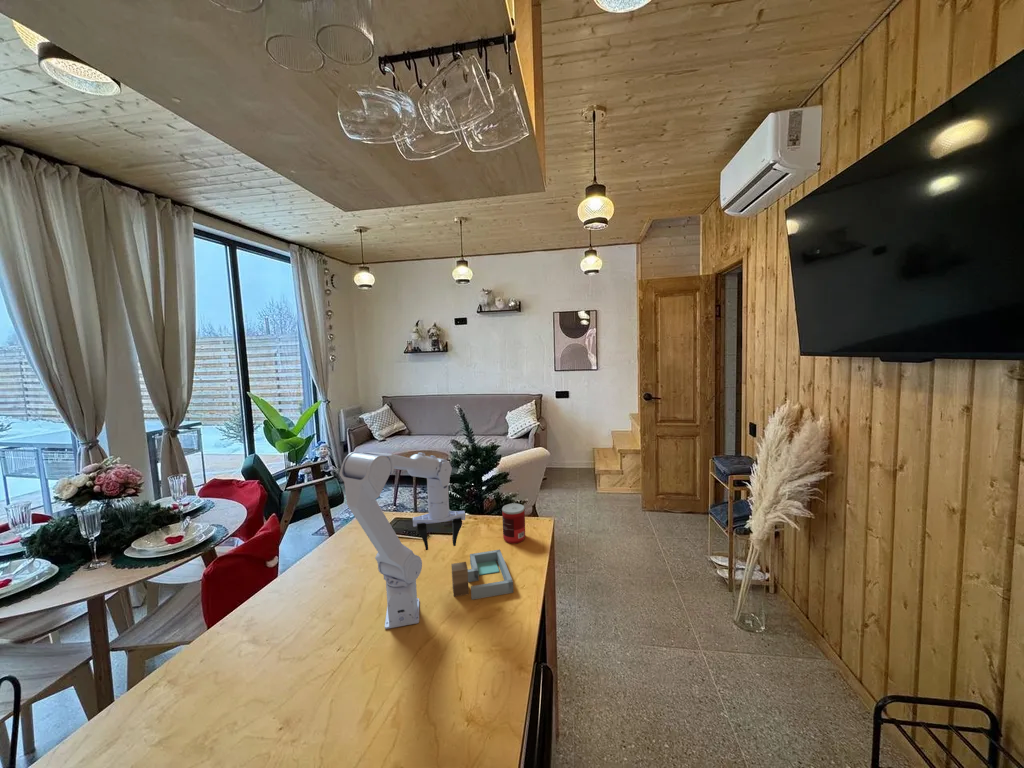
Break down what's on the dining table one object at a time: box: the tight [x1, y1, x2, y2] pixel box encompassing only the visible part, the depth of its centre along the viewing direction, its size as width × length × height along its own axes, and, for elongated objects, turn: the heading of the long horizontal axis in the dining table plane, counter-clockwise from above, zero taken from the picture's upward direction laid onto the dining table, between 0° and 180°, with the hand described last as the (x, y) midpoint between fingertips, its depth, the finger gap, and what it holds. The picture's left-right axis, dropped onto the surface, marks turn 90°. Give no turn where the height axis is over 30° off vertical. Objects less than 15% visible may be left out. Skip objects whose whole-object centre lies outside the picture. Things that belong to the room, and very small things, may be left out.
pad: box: [477, 561, 500, 576], centre depth 120 cm, size 6×6×1 cm
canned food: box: [501, 502, 526, 544], centre depth 138 cm, size 8×8×11 cm
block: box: [451, 561, 470, 597], centre depth 109 cm, size 4×4×7 cm
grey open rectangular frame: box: [468, 549, 514, 601], centre depth 115 cm, size 18×11×3 cm, turn 13°
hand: (440, 546), depth 114 cm, fingers open, 7 cm apart
